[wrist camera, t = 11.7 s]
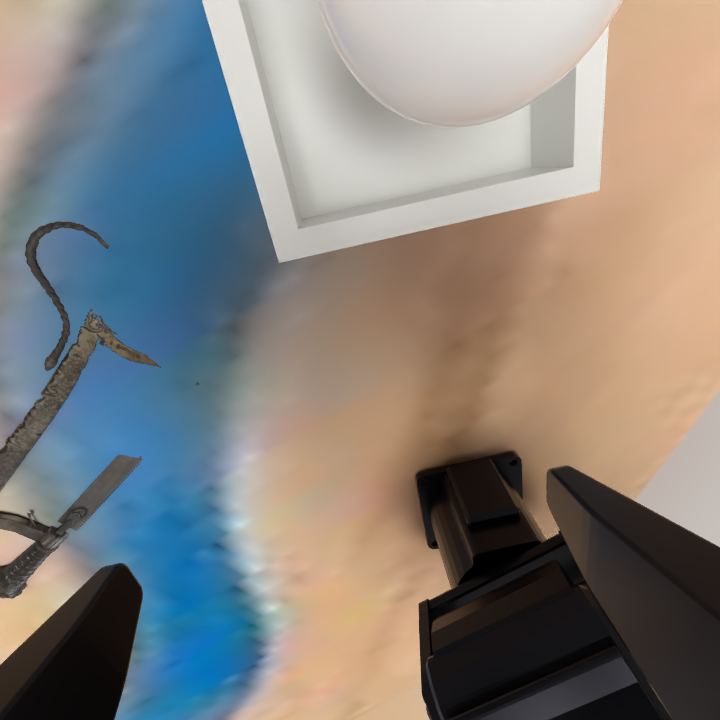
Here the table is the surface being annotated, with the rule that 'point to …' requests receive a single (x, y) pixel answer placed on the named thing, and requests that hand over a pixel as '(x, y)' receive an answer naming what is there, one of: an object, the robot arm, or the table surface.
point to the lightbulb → (462, 52)
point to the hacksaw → (39, 417)
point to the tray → (386, 138)
